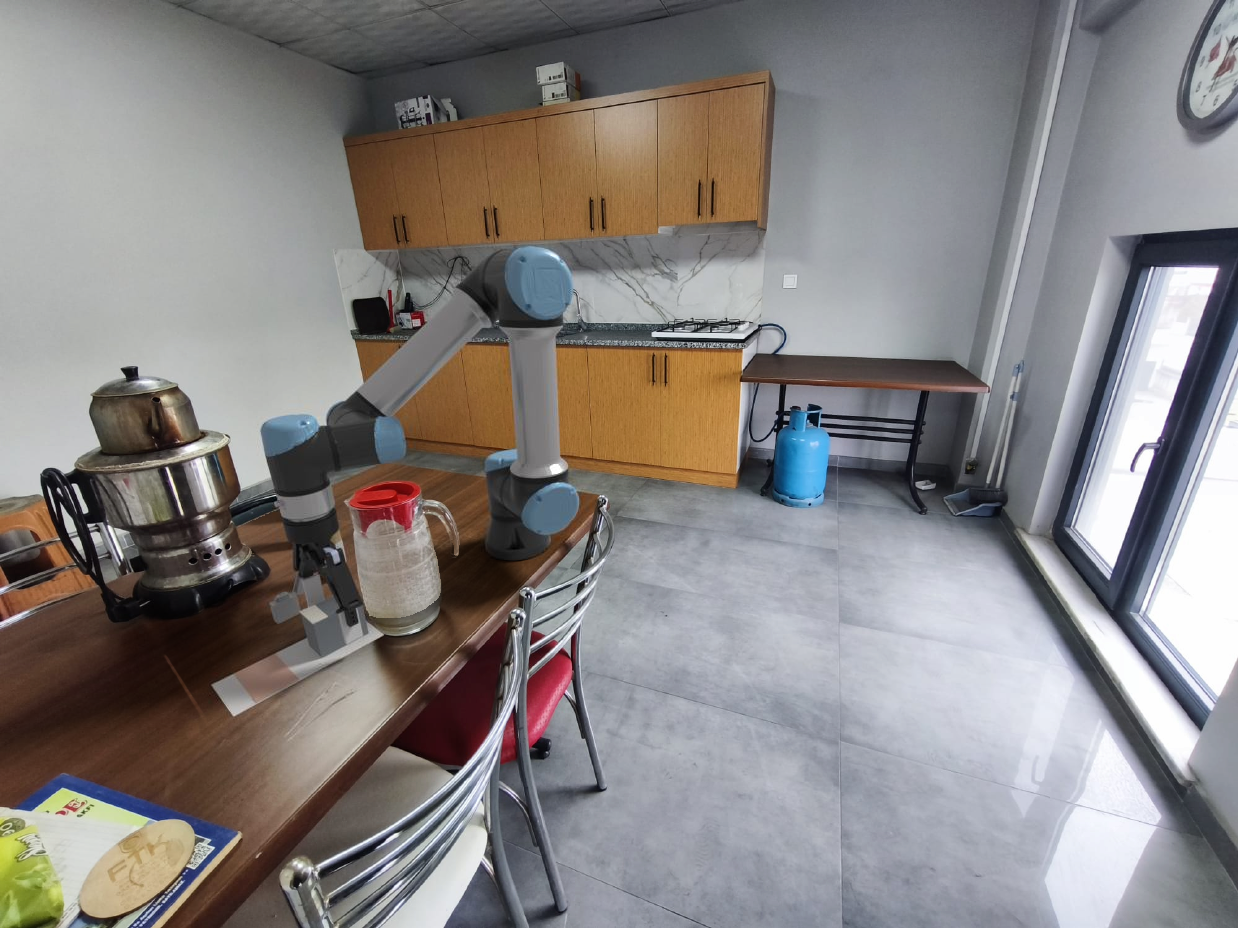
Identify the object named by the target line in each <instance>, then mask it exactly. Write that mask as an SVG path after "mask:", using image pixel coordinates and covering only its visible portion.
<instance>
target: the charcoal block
mask: <svg viewBox="0 0 1238 928" xmlns="http://www.w3.org/2000/svg"><path fill="white" fill-rule="evenodd" d="M337 609H339V606H338V604H337V602H336V600H335V598H334V596H332V597H330V598H327V599H325V601H323V602H321V603H319V604H316V605H313V606H310V607H308V606H307V607H306V608H303V609H300V610H301V611H299V612H300V617H301V619H302V623H303V627H304V631H305V634H306V638H307V639H308V643H309V646H310V647H311V648H312V649H313V650H314V651H315V652H316V653H317V654H318V655H320V656H321V657H322V658H323V657H325V656H327V655H329V654H331V653H333V652H335V651H336V650H338V649H340V648H342V647H344V646H346V645H348V644H346V643H345V641H344V637H343V632H342V628H341V624H340V619H339V615H338V614H337V613H336V612H335V611H336V610H337ZM357 609H358V614H359V619H360V623H361V628H362V632H363V636H365V635H367V634H369V632H368V628H367V623H366V621H367V620H366V615H365V609H364V604H363V605H362V606H360V607H358V608H357ZM363 636H362V637H363ZM360 638H361V637H360ZM358 639H359V638H358ZM356 640H357V639H356ZM354 641H355V640H354ZM352 642H353V641H352ZM352 642H350V643H352ZM350 643H349V644H350Z"/></svg>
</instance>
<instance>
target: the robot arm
mask: <svg viewBox="0 0 1238 928" xmlns="http://www.w3.org/2000/svg"><path fill="white" fill-rule="evenodd" d="M573 296H574V281H573V276H572V274H571V271H570V269H569V267H568V265H567V264H566V262H565V261H564V260H563V259H562V258H561V257H560V256H559V255H558V254H557V253H556V252H554V251H552V250H550V249H547V248H544V247H538V246H532V245H529V246H521V247H515V248H504V249H503V248H502V249H498V250H496V251H493V252H491V253H490V254H489V255H487V256H486V257H484V258H483V259H482V260H481V261H480V262H479V263H478V264H477V265H476V266H475V267H473V269H472V270H471V271H470V272H468V274H467V275H465V277H464V278H463V279H462V280H461V281H460V282H459V283H457V285H456V286H455V287H454V288H453V289H452V298H451V299H450V300H448V301H447V302H446V304H444V305H443V307H441V308H440V310H438V312H436V314H434V315H433V316H432V317H431V318H430V319H429V320H427V322H426V323H425V324H423V326H421V328H420V329H418V330H417V332H415V333H414V334H413V335H412V336H411V337H410V338H409V339H408V340H407V341H406V342H405V343H404V344H403V345H401V347H400V348H399V349H398V350H397V351H396V352H394V354H392V356H391V357H389V358H388V359H387V360H386V361H385V362H384V363H383V364H382V365H381V366H380V367H379V368H378V369H377V370H376V371H375V372H373V374H372V375H370V376H369V378H368V379H366V381H365V382H364V383H362V385H360V386H358V388H357V389H356V390H355V391H354V392H353V393H351V395H350V396H348V397H347V398H346V399H345V400H341V401H338V402H336V403H334V404H333V405H332V406H331V407H329V409H328V411H327V413H326V416H325V422H326V424H325V425H320V423H318V420H317V418H316V417H315V416H313V415H312V414H306V413H305V414H304V413H302V414H301V413H299V414H285V415H280V416H276V417H272V418H270V419H268V420H266V421H264V423H263V424H261V427H260V434H261V435H260V436H261V441H262V445H263V446H262V447H263V451H264V452H263V453H264V456H265V459H266V463H267V468H268V470H269V474H270V478H271V481H272V486H273V489H274V493H275V496H276V499H277V500H276V501H274V503H273V504H274V507H275V508H279V512H280V514H281V517H282V518H283V519H282V524H283V529H284V532H285V537H286V540H287V541H289V542H290V543H292V566H293V567H292V569H293V571H294V572H296V573H297V572H298V571H299V572H298V575H299V577H300V578H303V580H301V581H302V585H303V589H304V596H305V600H306V603H307V608H308V607H310V606H313V605H316V604H319V603H321V602H323V601H325V600H326V598H325V593H324V590H323V585H322V581H321V577H320V576H323V578H324V580H325V582H326V584H327V587H328V588H329V590H330V591H331V594H332V597H334V598H335V600H336V602H337V604H338V606H339V609H337V610H336V611H335V612H336V613H337V614H338V615H339V619H340V624H341V628H342V632H343V637H344V641H345V643H346V644H349V643H350V642H352V641H354V640H356V639H358V638H360V637H362V636H363V632H362V628H361V623H360V619H359V614H358V609H357V608H358V607H360V606H362V605H363V606H364V602H363V600H362V597H361V594H360V593H359V590H358V588H357V586H356V583H355V580H354V578H353V575H352V573H351V570H350V568H349V567H348V564H347V559H346V560H345V556H346V555H345V556H344V553H343V550H342V548H338V549H336V547H335V545H334V543H333V542H331V541H330V540H331V537H332V536H333V535H334V534H336V533H337V531H338V530H340V522H339V518H338V512H337V509H336V508H335V505H336V502H335V497H334V492H333V487H332V483H331V480H330V477H329V476H330V475H329V474H332V473H339V472H344V471H349V470H354V469H359V468H366V467H370V466H371V467H372V466H377V465H386V464H388V463H391V462H395V461H398V460H401V459H403V458H404V457H405V455H406V454H407V443H406V436H405V432H404V429H403V426H402V424H401V422H400V420H399V418H397V417H396V416H394V415H395V414H396V413H397V412H398V411H399V410H400V409H402V407H404V405H406V403H408V402H409V401H410V400H411V398H413V396H415V395H416V394H417V392H419V391H420V390H421V389H422V388H423V387H424V385H426V384H427V383H428V382H429V381H430V380H431V379H432V378H433V377H434V376H435V375H436V374H437V373H438V372H439V371H440V370H441V369H442V368H443V367H444V366H445V365H446V364H447V363H448V362H449V361H450V360H451V359H452V358H453V357H454V356H456V354H457V353H458V352H459V351H460V350H461V349H462V348H463V347H464V346H465V345H466V344H467V343H468V342H470V341H471V339H472V338H473V337H475V335H477V333H479V332H480V330H481V329H484V328H485V329H490V328H491V327H493V325H494V324H495V323H496V322H497V321H498V327H499V329H500V330H501V331H502V332H503V333H505V334H506V336H507V337H508V349H509V361H510V362H509V363H510V374H511V375H510V376H511V391H512V404H513V405H512V406H513V418H514V419H513V421H514V432H515V446H516V447H515V449H507V450H501V451H498V452H494V453H492V454H489V455H488V456H487V457H486V459H485V461H484V464H485V465H484V469H485V470H484V473H485V479H486V480H485V481H486V489H487V498H488V505H489V507H488V508H489V517H490V518H489V523H488V527H487V528H488V529H487V533H486V535H485V540H484V541H485V550H486V552H487V553H488V554H489V555H490V556H492V557H493V558H495V559H499V560H502V559H503V560H505V561H522V560H526V559H531V558H535V557H536V556H539V555H541V554H543V553H544V552H545V551H546V548H547V549H549V547H550V546H549V545H551V543H550V542H551V541H552V540H551V535H554V534H557V533H559V532H561V531H563V530H564V529H566V528H567V527H568V526H569V525H570V523H571V521H573V520H574V519H575V517H576V515H577V513H578V511H579V508H580V507H579V506H580V497H579V493H578V492H577V491H576V488H575V487H574V486H573V485H572V484H570V480H569V477H570V476H569V474H570V473H569V465H568V462H567V461H566V460H565V459H563V458H562V457H561V447H560V445H561V444H560V441H561V440H560V422H559V421H560V419H559V418H560V416H559V397H558V396H559V393H558V392H559V390H558V372H557V371H558V370H557V369H558V367H557V346H556V345H557V344H556V337H557V334H558V333H559V332H560V331H561V330H562V329H563V328H564V313H565V312H566V311H567V308H568V307H569V305H571V302H572V300H573ZM548 546H549V547H548ZM543 551H544V552H543ZM542 552H543V553H542ZM325 566H327V567H325Z"/></svg>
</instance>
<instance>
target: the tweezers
mask: <svg viewBox="0 0 1238 928" xmlns="http://www.w3.org/2000/svg"><path fill="white" fill-rule="evenodd" d="M345 681H346V680H343V681H342V684H343V683H345ZM337 686H339V683H337V682H336V681H334V682H333V683H331V684H330V685H329V686H328V687H327V688H326V689H325V691H323V692H322V693H321V694H320V695H319V696H318V697H317V698H316V699H315V700H314V701H313V703H312V704H311V705H310V706H309V708H308V709H307V710H306V711H305V712H304V713H303V715H302V716H301V717H300V718H299V719H298V721H297V722H296V723H295V724H294V725H293V727H292V728H291V729H290V730H289V731H288V732H287V733H286V734H285V737H286V736H288V734H289V735H290V733H291V731H293V730H294V729H295V728H296V726H298V724H299V723H300V722H301V721H302V720H303V719H304V718H305V717H307V716H306V715H308V714H309V713H310V712H311V711H312V710H313V708H315V707H316V706H317V705H318V704H319V703H320V702H321V701H323V700H324V699H325V698H326V697H327V696H328V693H329V692H330V691H331V690H333V689H335V688H336V687H337ZM353 686H354V687H355V686H357V685H356V684H353ZM357 691H359V689H358V688H352V689H350V690H349V691H346V692H345V693H344V694H342V695H340V696H339V697H338V698H336V699H335V700H334V701H333V702H331V703H330V704H328V706H326V707H325V708H324V709H323V710H321V711H320V712H318V713H317V714H316V715H315V716H314V717H313V718H311V719H310V720H309V721H308V722H307V723H306V724H304V725H303V726H302V727H301V728H300V729H298V730H297V731H296V732H295V733H294V734H293V735H292V736H291V737H289V738H288V739H287V741H286V742H289V741H290V740H291V739H292V738H294V737H296V736H297V735H298V734H299V733H300V732H302V731H303V730H304V729H305V728H307V727H308V726H310V725H312V724H313V722H315V721H316V720H317V719H319V718H321V716H322V715H324V714H325V713H326V712H328V711H329V710H331V708H333V707H334V706H336V705H337V703H339V702H341V700H343V698H347V697H349V696H351V695H352V694H354V693H356V692H357ZM327 692H328V693H327Z"/></svg>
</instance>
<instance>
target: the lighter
mask: <svg viewBox="0 0 1238 928" xmlns="http://www.w3.org/2000/svg"><path fill="white" fill-rule="evenodd" d="M298 572H299V571H297V572H296V576H295V580H294V584H293V589H292V592H290V593H289V592H288V591H283V592H281V593H279V594H277V595H275V597H274V599H273V601H270V602H269V604H268V605H269V607H270V611H271V615H272V618H273V622H275V623H276V624H278V625H279V624H281V623H283V622H285V621H288V620H290V619H292V618H293V617H295V616H298V615H299V614H300V615H301V613H300V612H299V611H301V610H302V609H301V607H300V604H299V603H300V602H299V599H298V596H299V595H305V593H304V589H303V585H302V581H301V580H303V578H300V577H299V575H298Z"/></svg>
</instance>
